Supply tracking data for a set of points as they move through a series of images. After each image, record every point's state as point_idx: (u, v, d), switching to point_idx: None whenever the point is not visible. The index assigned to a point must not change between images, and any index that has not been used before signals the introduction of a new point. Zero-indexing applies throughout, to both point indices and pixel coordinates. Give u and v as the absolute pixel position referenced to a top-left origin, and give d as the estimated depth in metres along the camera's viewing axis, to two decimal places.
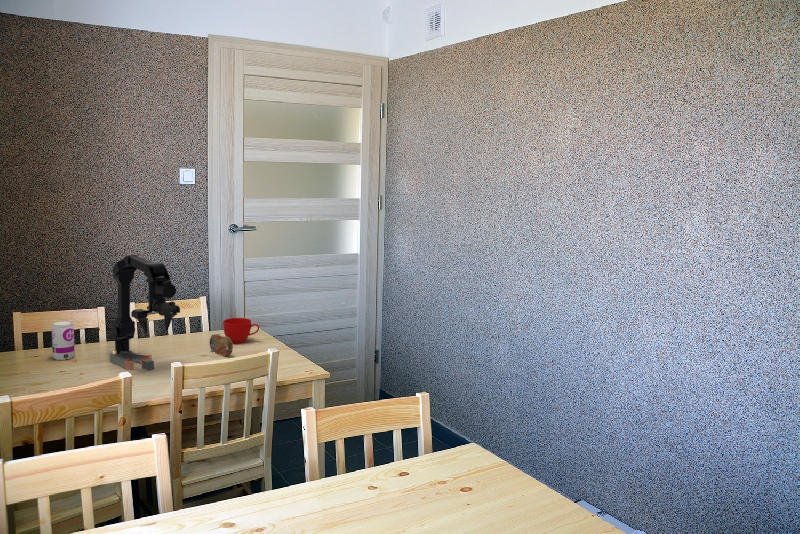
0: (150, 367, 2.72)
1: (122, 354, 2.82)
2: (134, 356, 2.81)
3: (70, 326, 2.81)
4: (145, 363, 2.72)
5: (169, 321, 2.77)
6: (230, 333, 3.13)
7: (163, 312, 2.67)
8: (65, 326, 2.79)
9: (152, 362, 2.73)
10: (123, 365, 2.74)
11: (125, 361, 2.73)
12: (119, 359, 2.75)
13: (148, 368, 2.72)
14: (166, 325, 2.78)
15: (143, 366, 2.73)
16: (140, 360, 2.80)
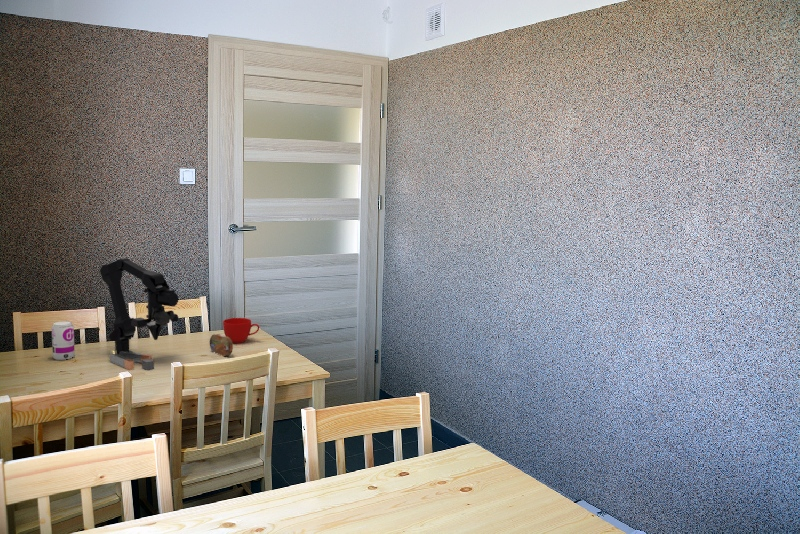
0: (150, 367, 2.72)
1: (122, 354, 2.82)
2: (134, 356, 2.81)
3: (70, 326, 2.81)
4: (145, 363, 2.72)
5: (158, 331, 2.84)
6: (230, 333, 3.13)
7: (162, 321, 2.77)
8: (65, 326, 2.79)
9: (152, 362, 2.73)
10: (123, 365, 2.74)
11: (125, 361, 2.73)
12: (119, 359, 2.75)
13: (148, 368, 2.72)
14: None
15: (143, 366, 2.73)
16: (140, 360, 2.80)
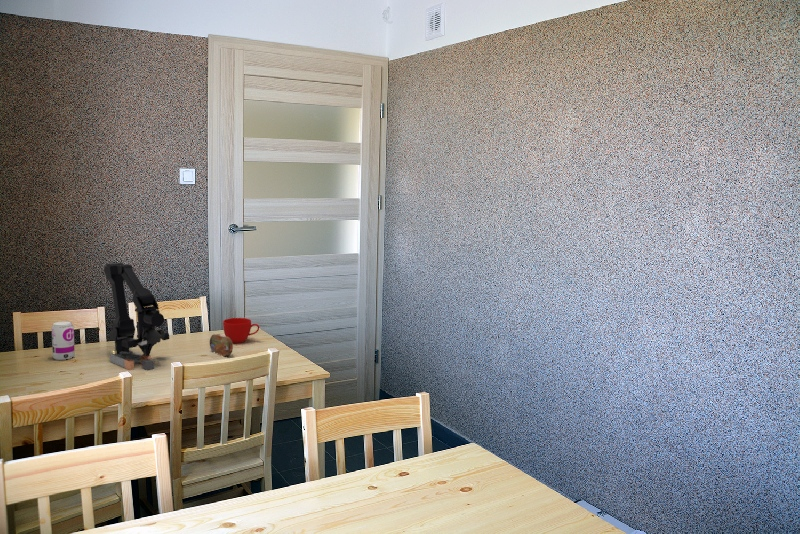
0: (150, 367, 2.72)
1: (121, 354, 2.82)
2: (133, 356, 2.80)
3: (70, 326, 2.81)
4: (145, 363, 2.72)
5: (149, 350, 2.82)
6: (230, 333, 3.13)
7: (153, 340, 2.75)
8: (65, 326, 2.79)
9: (152, 362, 2.73)
10: (123, 365, 2.74)
11: (125, 361, 2.73)
12: (119, 359, 2.75)
13: (148, 368, 2.72)
14: (146, 354, 2.82)
15: (143, 366, 2.73)
16: (139, 360, 2.80)
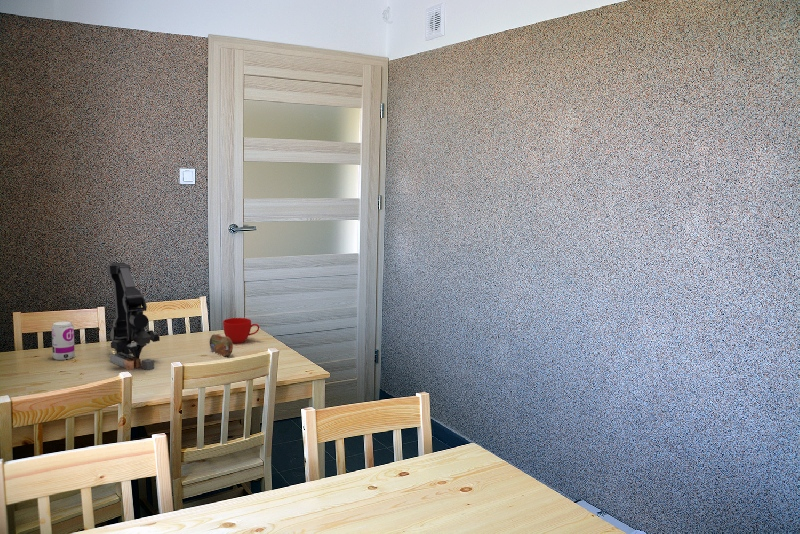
0: (150, 367, 2.72)
1: None
2: None
3: (70, 326, 2.81)
4: (145, 363, 2.72)
5: (139, 352, 2.77)
6: (230, 333, 3.13)
7: (142, 341, 2.71)
8: (65, 326, 2.79)
9: (152, 362, 2.73)
10: (123, 365, 2.74)
11: (125, 361, 2.73)
12: (119, 359, 2.75)
13: (148, 368, 2.72)
14: (136, 356, 2.78)
15: (143, 366, 2.73)
16: None
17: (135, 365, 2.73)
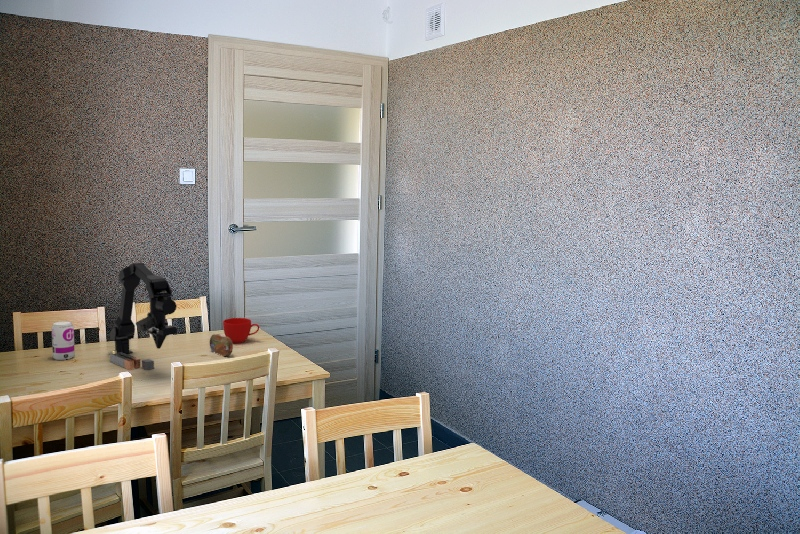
0: (150, 367, 2.72)
1: None
2: None
3: (70, 326, 2.81)
4: (145, 363, 2.72)
5: (156, 339, 2.66)
6: (230, 333, 3.13)
7: (137, 327, 2.61)
8: (65, 326, 2.79)
9: (152, 362, 2.73)
10: (123, 365, 2.74)
11: (125, 361, 2.73)
12: (119, 359, 2.75)
13: (148, 368, 2.72)
14: None
15: (143, 366, 2.73)
16: None
17: (135, 365, 2.73)
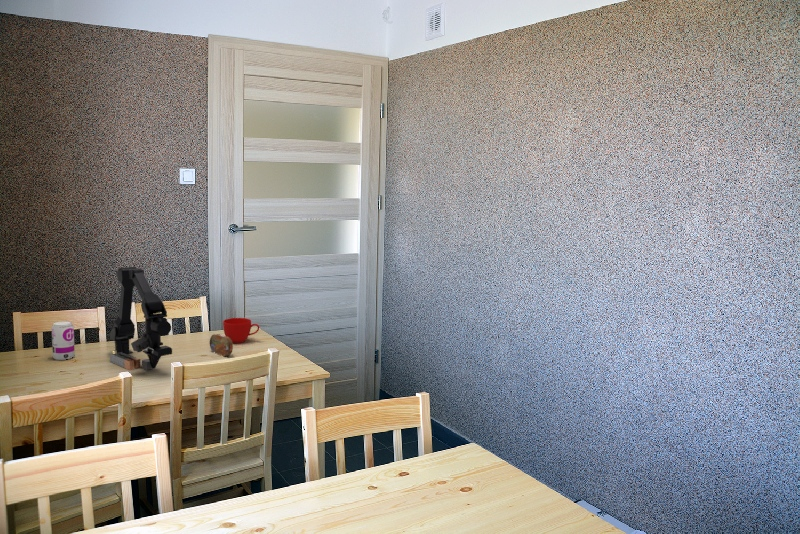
0: (150, 367, 2.72)
1: None
2: None
3: (70, 326, 2.81)
4: (145, 363, 2.72)
5: (151, 359, 2.70)
6: (230, 333, 3.13)
7: (132, 347, 2.65)
8: (65, 326, 2.79)
9: None
10: (123, 365, 2.74)
11: (125, 361, 2.73)
12: (119, 359, 2.75)
13: (148, 368, 2.72)
14: None
15: (143, 366, 2.73)
16: None
17: (135, 365, 2.73)
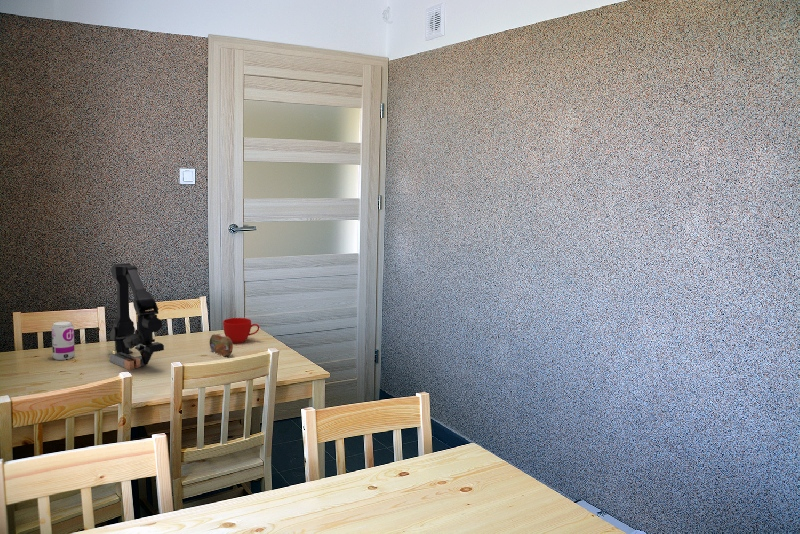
0: (142, 364, 2.76)
1: None
2: None
3: (70, 326, 2.81)
4: None
5: (143, 356, 2.74)
6: (230, 333, 3.13)
7: (124, 344, 2.69)
8: (65, 326, 2.79)
9: None
10: (123, 365, 2.74)
11: (125, 361, 2.73)
12: (119, 359, 2.75)
13: (140, 365, 2.75)
14: None
15: None
16: None
17: (135, 365, 2.73)
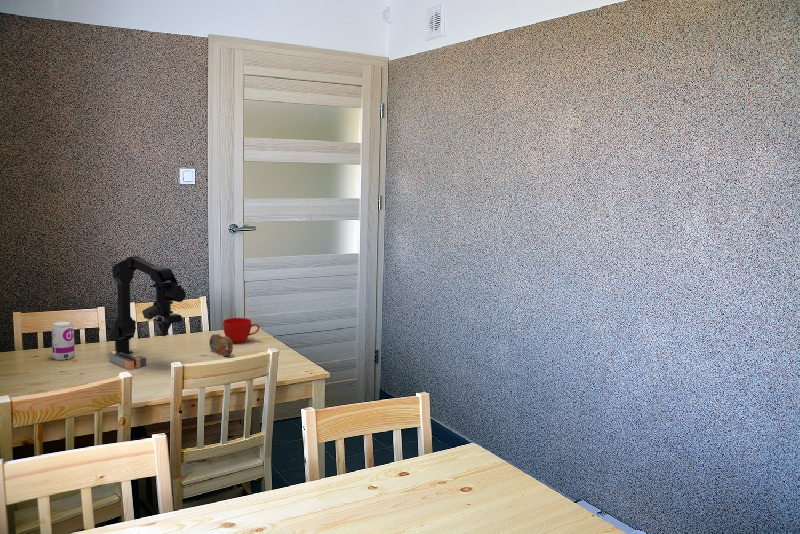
0: (142, 364, 2.76)
1: None
2: None
3: (70, 326, 2.81)
4: None
5: (162, 327, 2.77)
6: (230, 333, 3.13)
7: (143, 315, 2.72)
8: (65, 326, 2.79)
9: (144, 359, 2.77)
10: (123, 365, 2.74)
11: (125, 361, 2.73)
12: (119, 359, 2.75)
13: (140, 365, 2.75)
14: None
15: None
16: None
17: (135, 365, 2.73)
